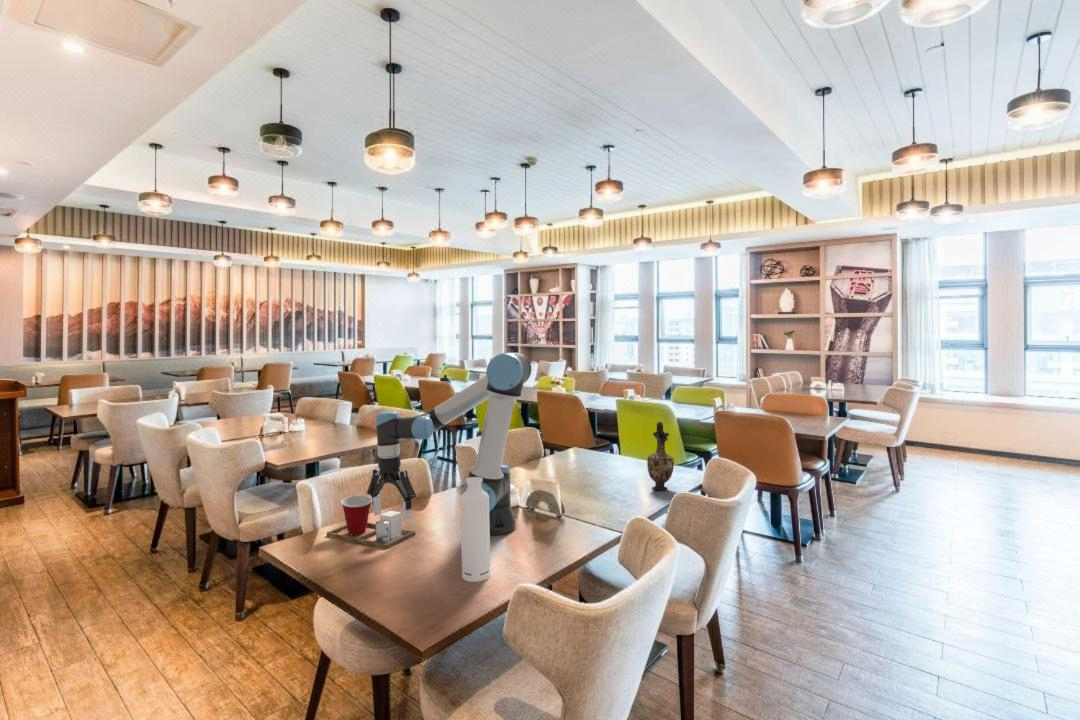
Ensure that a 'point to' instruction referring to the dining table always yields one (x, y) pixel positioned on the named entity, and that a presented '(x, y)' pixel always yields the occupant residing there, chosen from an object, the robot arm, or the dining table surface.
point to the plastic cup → (356, 513)
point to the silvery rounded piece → (383, 531)
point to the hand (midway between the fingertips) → (392, 516)
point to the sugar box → (393, 523)
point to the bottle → (475, 531)
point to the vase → (660, 461)
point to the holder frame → (362, 538)
